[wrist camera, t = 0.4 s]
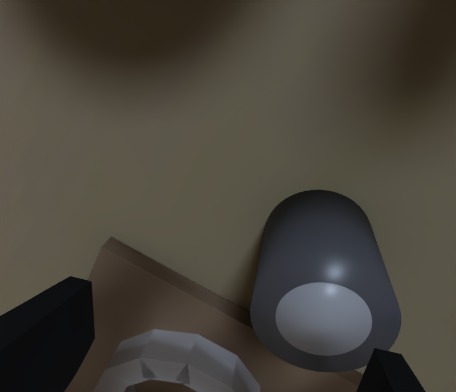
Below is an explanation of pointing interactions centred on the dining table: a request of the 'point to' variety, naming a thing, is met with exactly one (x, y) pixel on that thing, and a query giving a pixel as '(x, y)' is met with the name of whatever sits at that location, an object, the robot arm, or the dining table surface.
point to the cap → (322, 285)
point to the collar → (179, 337)
